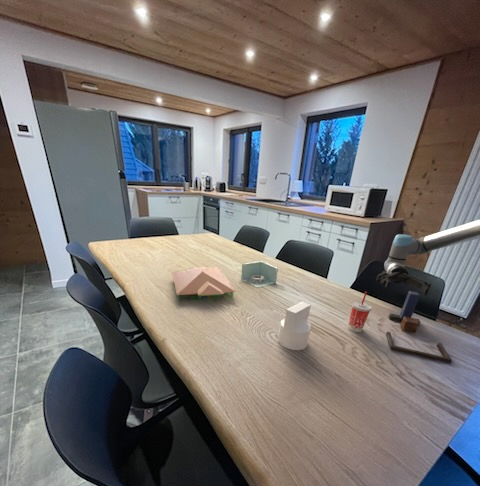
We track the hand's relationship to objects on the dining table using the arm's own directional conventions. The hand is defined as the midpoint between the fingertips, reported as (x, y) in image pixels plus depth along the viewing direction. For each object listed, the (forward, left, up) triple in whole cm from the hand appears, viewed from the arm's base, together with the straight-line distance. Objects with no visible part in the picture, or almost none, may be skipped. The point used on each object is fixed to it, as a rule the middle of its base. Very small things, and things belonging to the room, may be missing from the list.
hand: (407, 288), depth 104 cm
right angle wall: (+61, -3, -10) cm, 62 cm away
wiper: (0, +10, -10) cm, 14 cm away
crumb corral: (0, +28, -10) cm, 30 cm away
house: (+81, +18, -10) cm, 83 cm away
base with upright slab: (+37, +43, -10) cm, 57 cm away
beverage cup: (+18, +25, -10) cm, 32 cm away
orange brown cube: (0, +17, -10) cm, 19 cm away
